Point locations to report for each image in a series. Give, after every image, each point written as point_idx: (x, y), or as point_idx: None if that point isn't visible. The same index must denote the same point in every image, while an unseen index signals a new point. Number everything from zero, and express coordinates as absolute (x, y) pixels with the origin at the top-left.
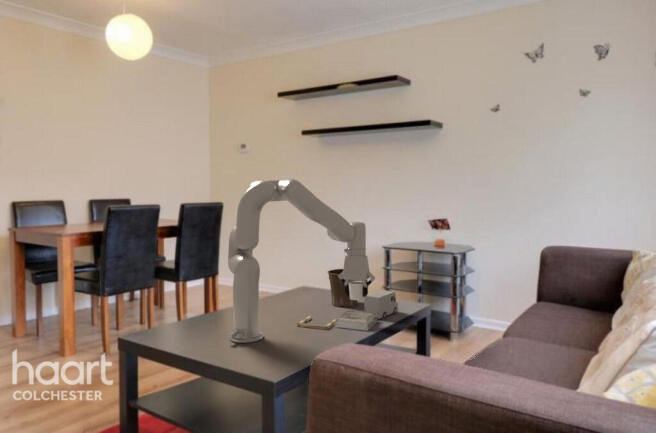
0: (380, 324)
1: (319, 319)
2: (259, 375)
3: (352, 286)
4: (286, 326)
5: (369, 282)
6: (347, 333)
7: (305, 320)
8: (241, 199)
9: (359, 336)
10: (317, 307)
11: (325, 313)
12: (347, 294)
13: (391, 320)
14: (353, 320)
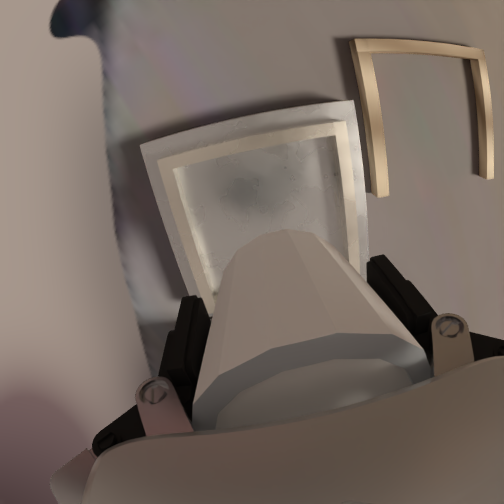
0: (163, 272)
1: (453, 187)
2: None
3: (327, 302)
4: (498, 40)
5: (108, 439)
6: (218, 41)
7: (483, 112)
8: None
9: (138, 41)
10: (485, 318)
11: (454, 277)
12: (373, 260)
13: (164, 341)
14: (239, 137)
